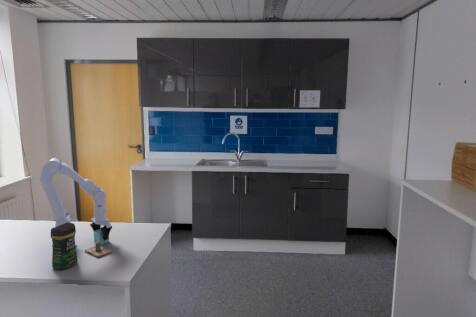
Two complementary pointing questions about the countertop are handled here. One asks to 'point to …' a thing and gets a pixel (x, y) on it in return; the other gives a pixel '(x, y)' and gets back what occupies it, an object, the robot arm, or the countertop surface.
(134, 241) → the countertop surface
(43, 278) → the countertop surface
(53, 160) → the robot arm
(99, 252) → the brown rectangular board
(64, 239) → the coffee jar
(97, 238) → the teal matte cube
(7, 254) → the countertop surface
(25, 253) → the countertop surface
